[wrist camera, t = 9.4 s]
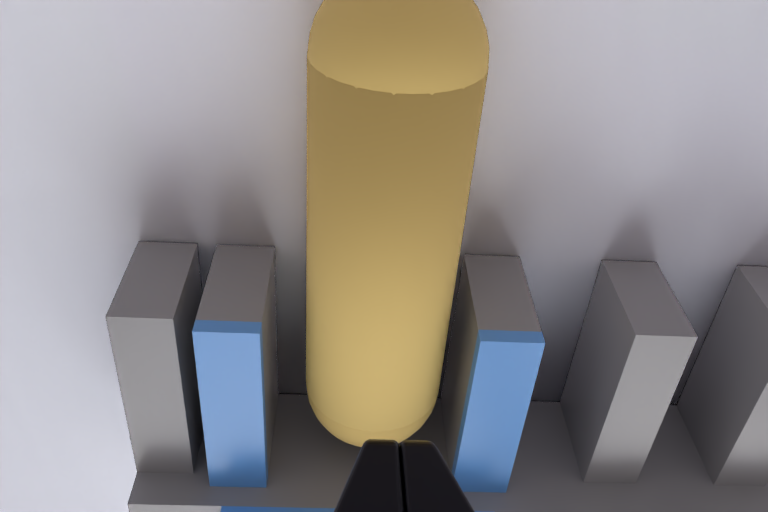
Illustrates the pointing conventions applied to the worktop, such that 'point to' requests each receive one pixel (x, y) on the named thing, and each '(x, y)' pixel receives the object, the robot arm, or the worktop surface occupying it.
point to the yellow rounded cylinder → (386, 204)
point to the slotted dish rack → (447, 394)
